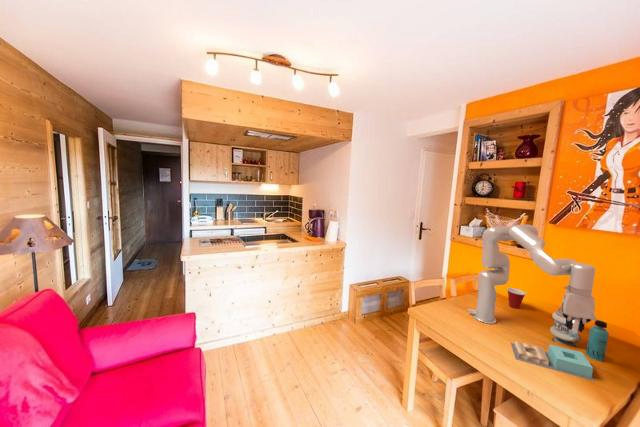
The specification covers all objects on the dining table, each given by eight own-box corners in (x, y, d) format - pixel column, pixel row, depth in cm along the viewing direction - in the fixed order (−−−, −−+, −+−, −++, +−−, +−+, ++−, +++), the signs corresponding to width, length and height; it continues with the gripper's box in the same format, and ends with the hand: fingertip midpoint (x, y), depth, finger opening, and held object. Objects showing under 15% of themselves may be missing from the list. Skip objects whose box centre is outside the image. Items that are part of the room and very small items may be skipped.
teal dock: (555, 368, 119) (556, 358, 119) (547, 353, 130) (549, 344, 129) (591, 378, 114) (593, 367, 113) (580, 362, 124) (581, 352, 124)
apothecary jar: (549, 334, 150) (554, 304, 148) (579, 343, 141) (584, 312, 139) (547, 342, 141) (552, 311, 139) (578, 353, 133) (584, 320, 131)
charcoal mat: (515, 362, 125) (515, 359, 125) (510, 345, 138) (510, 342, 138) (595, 384, 112) (596, 381, 112) (581, 363, 125) (581, 361, 125)
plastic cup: (527, 311, 177) (529, 294, 175) (509, 309, 179) (511, 292, 178) (519, 304, 187) (521, 288, 186) (502, 302, 190) (504, 286, 188)
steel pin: (569, 336, 119) (572, 318, 118) (567, 333, 122) (569, 315, 121) (579, 338, 118) (582, 319, 117) (576, 335, 120) (579, 316, 119)
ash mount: (518, 357, 126) (519, 353, 126) (514, 345, 136) (515, 341, 135) (548, 365, 121) (548, 360, 121) (541, 352, 131) (542, 348, 130)
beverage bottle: (581, 355, 131) (587, 318, 129) (593, 355, 132) (599, 318, 130) (595, 364, 125) (602, 325, 123) (608, 364, 125) (615, 325, 123)
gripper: (558, 290, 118) (553, 328, 120) (609, 298, 110) (602, 339, 112) (553, 284, 124) (548, 321, 127) (601, 292, 117) (595, 330, 119)
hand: (574, 329), depth 119 cm, fingers closed on steel pin, 3 cm apart
